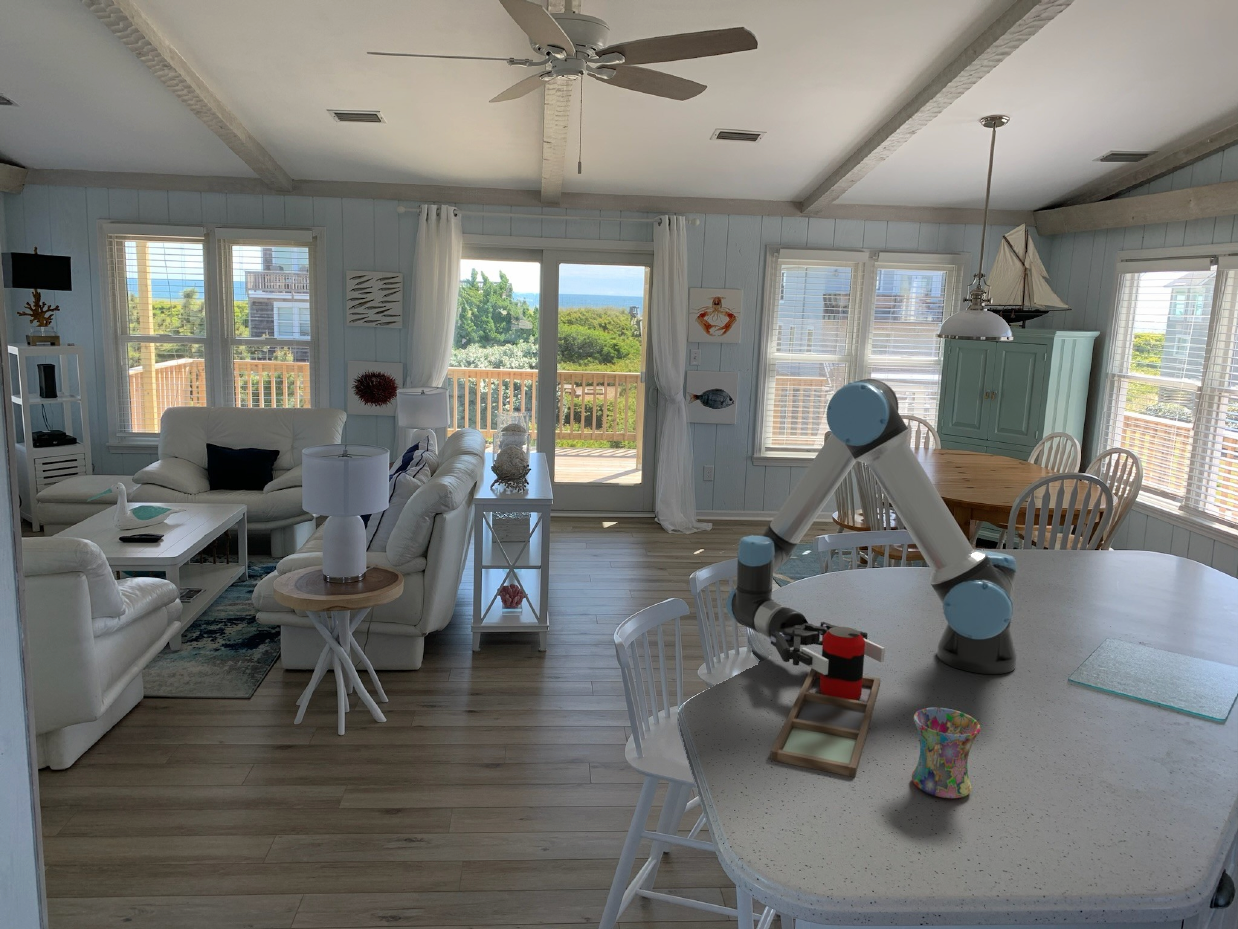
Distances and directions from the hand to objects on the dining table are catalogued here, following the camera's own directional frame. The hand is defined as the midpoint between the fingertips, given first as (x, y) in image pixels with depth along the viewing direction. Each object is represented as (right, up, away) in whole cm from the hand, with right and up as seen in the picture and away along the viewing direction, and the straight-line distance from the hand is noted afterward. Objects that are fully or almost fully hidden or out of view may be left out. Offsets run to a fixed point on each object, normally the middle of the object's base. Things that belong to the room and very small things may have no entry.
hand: (855, 661), depth 160 cm
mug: (+4, -13, -30) cm, 33 cm away
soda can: (-2, -7, +4) cm, 8 cm away
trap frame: (-6, -9, -7) cm, 13 cm away
